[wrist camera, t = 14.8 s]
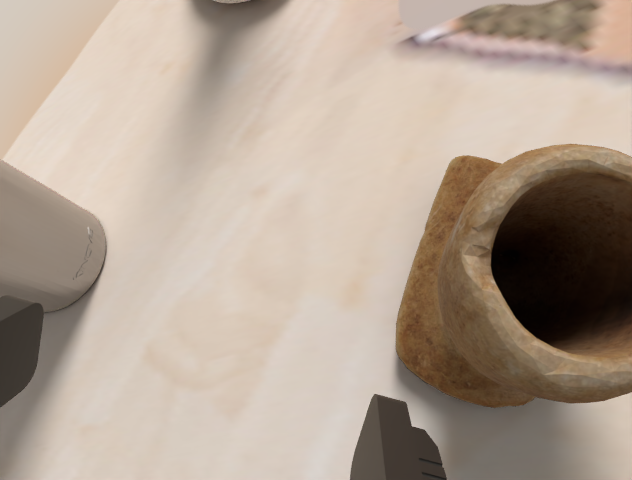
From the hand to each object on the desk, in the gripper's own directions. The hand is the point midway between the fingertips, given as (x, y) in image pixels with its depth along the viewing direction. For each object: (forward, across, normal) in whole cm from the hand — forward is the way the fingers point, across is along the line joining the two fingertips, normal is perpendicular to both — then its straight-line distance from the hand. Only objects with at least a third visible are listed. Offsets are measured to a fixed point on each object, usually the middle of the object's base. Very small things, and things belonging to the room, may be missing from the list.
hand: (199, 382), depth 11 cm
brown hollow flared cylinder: (+21, -14, +1) cm, 25 cm away
